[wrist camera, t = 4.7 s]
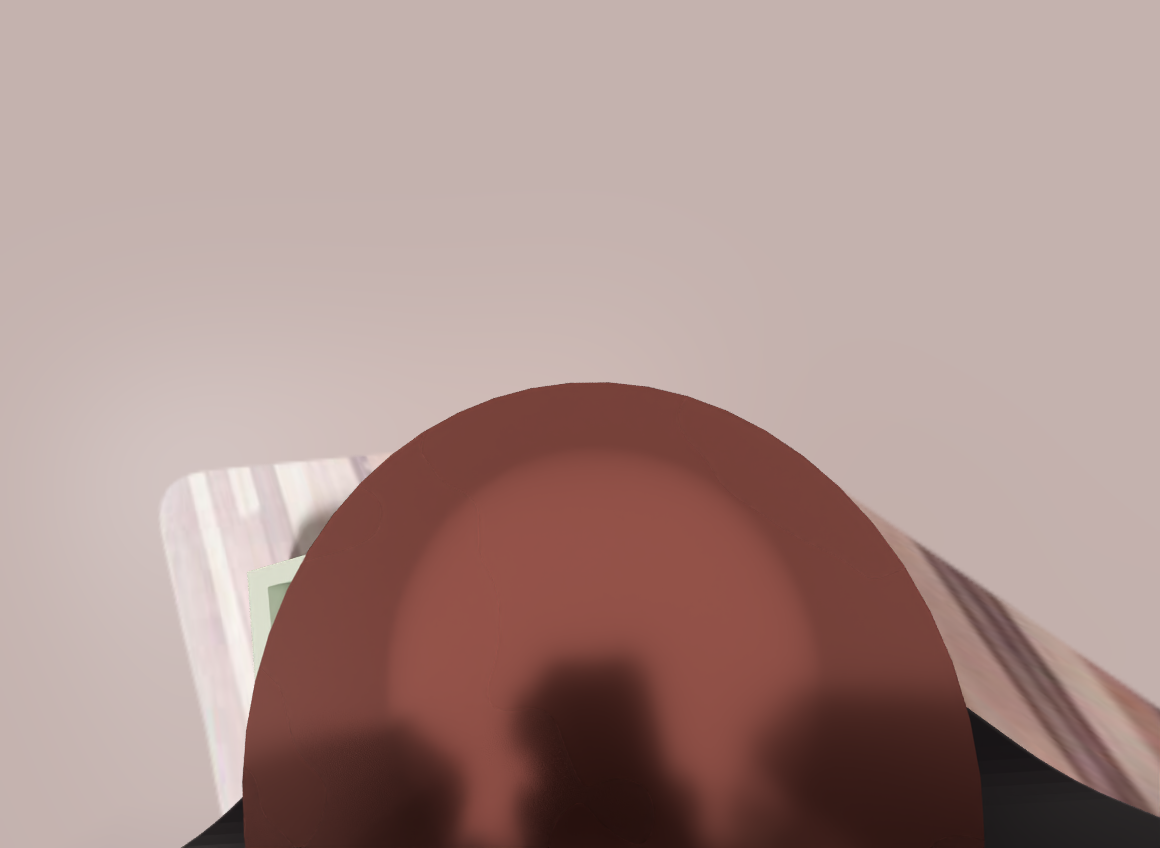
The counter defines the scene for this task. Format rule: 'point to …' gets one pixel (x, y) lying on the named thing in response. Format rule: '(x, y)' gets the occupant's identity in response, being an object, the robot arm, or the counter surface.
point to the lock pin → (605, 649)
